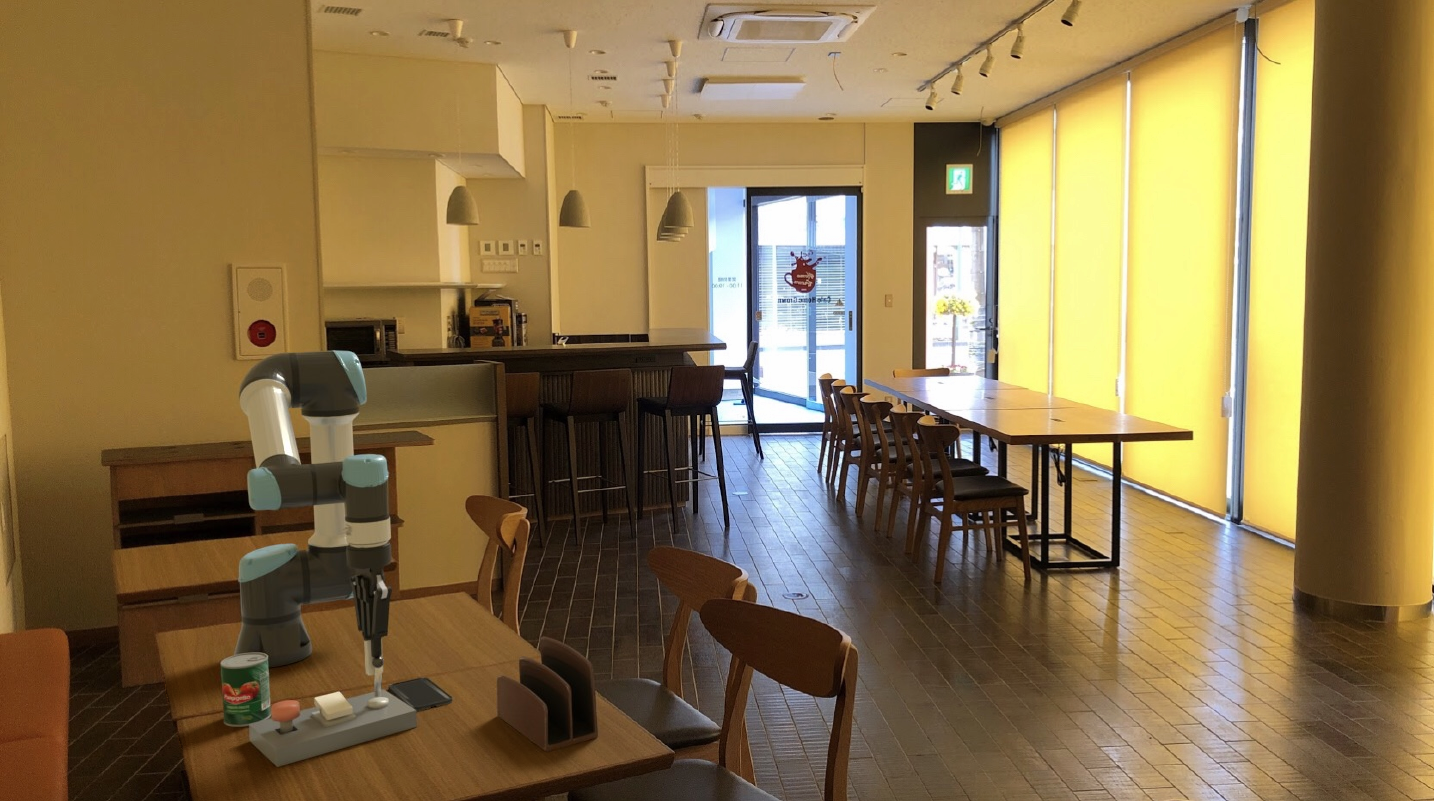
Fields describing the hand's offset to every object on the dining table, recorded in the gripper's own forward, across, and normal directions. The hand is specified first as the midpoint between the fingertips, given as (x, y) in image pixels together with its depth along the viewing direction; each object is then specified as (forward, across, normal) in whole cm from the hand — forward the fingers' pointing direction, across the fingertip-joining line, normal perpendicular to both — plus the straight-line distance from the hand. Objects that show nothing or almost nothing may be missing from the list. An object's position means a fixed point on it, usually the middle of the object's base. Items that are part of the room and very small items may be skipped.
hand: (374, 672), depth 190 cm
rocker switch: (+4, +1, -8) cm, 9 cm away
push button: (+7, +1, -16) cm, 17 cm away
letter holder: (+9, +23, +21) cm, 33 cm away
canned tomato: (+9, -17, -17) cm, 26 cm away
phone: (+9, -6, +11) cm, 16 cm away
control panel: (+9, +1, -8) cm, 12 cm away
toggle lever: (+5, +1, 0) cm, 5 cm away
